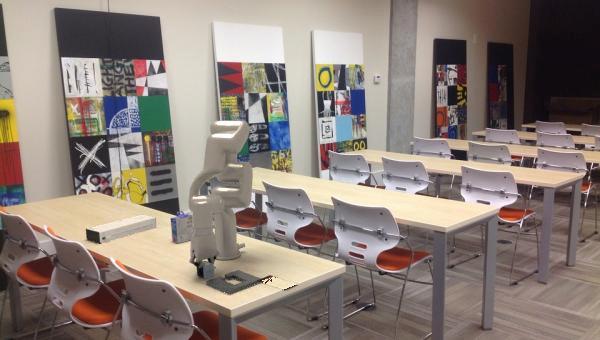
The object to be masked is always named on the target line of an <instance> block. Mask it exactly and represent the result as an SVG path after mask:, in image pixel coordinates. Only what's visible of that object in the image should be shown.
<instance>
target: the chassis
mask: <svg viewBox="0 0 600 340" xmlns="http://www.w3.org/2000/svg"><path fill="white" fill-rule="evenodd" d="M262 278H263V277H258V276H256V275H253V274H251V273H247V272H245V271H243V270H239V269H237V270H234V271H231V272H227V273H226V274H224V276H221V275H219V276H217V277H214V278H213V277H212V278H211V279H206V280H205V285H206V286H208V287H210V288H213V289H214V290H217V291H219V290H220V291H219V292H221V293H224V292H225V294H226V293H227V295H229V294H230V295H232V294H235V293H237V291H238V292H240V291H242V289H243V290H245V289H247V287H248V288H250V287H249V286H251V287H253V286H255V285H254V284H256V285H258V284H257V283H259V284H261V283H260V282H262ZM235 279H236V281H238V283H236V284H235V283H234V284H233V283H231V282H229V281H231V280H235ZM227 280H228V281H227ZM252 285H253V286H252ZM244 288H245V289H244ZM239 290H240V291H239ZM234 292H235V293H234ZM231 293H232V294H231Z"/></svg>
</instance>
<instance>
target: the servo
mask: <svg viewBox="0 0 600 340" xmlns="http://www.w3.org/2000/svg"><path fill="white" fill-rule="evenodd" d="M214 264H215V263H214ZM214 264H212V263H210V262H208V260H206V259H205V260H203V261H202V268H203V277H202V278H204V279H206V280H207V279H208V278H213V277H214V276H215V269H217V267H216V266H215V265H214ZM193 266H194V267H196V266H195V265H194V264H193ZM196 269H197V267H196Z"/></svg>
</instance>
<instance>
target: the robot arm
mask: <svg viewBox="0 0 600 340" xmlns="http://www.w3.org/2000/svg"><path fill="white" fill-rule="evenodd" d="M209 131H210V134H209V135H208V136H207V138H206V143H205V144H206V145H205V151H204V159H203V168H202V170H201V171H200V172H199V173H198V174H197V175H196V177H195V178H194V180H193V181H192V183H191V185H190V188H189V194H188V202H187V203H188V209H189V211H190V212H192V215H193V229H194V235H192V238H191V240H190V250H189V251H190V254H189V255H190V258H189V261H188V263H190V264H192V265H193V266H194V265H195V266H194V267H197V268H196V276H198V277H199V278H203V268H202V261H204V260H205V261H207V262H210V263H212V264H215V261H216V260H220V261H227V260H228V261H229V260H234V259H237V258H239V257H241V253H242V252H241V250H240V249H243V248H246V243H245V242H242V243H239V242H238V239H237V235H238V234H237V217H236V213H235V212H234V210H233V209H247V208H249V206H250V205H251V202H252V193H253V192H252V191H253V181H254V180H253V178H254V177H253V176H254V174H253V173H254V172H253V167H252V165H251V163H250V162H248V161H238V154H239V153H241V151H242V149H243V147H244V145H245V143H246V142H247V140H248V138H249V135H250V126H249V123H248V122H247V121H246V120H226V119H225V120H214V121H213V122H211V123H210V125H209ZM215 177H216V179H217V181H218V182H220V183H229V184H239V185H219V186H218V185H217V186H215V187H213V189H211V190H212V191H211V193H210V194H200V190H201V188H202V186H203V185H204V184H205V183H206V182H207V181H209V180H211V179H213V178H215ZM213 220H214V221H213ZM213 222H214V224H213Z"/></svg>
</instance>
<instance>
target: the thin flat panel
mask: <svg viewBox="0 0 600 340" xmlns="http://www.w3.org/2000/svg"><path fill="white" fill-rule="evenodd" d="M273 276H274V275H270V274H269V275H267V276H264V277H261V278H262V280H265V279H268V280H267V281H266V282H265V284H264V285H266V283H267V282H268V281H269V280H270V279H271V278H272V277H273ZM274 277H275V278H276V277H277V276H274ZM269 278H270V279H269ZM270 281H271V282H272V279H271V280H270ZM263 282H264V281H262V283H261V284H263ZM297 286H298V283H297V285H294V286H292V287H289V288H287V289H284V290H283V291H288V290H291V289H292V288H295V287H297Z"/></svg>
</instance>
